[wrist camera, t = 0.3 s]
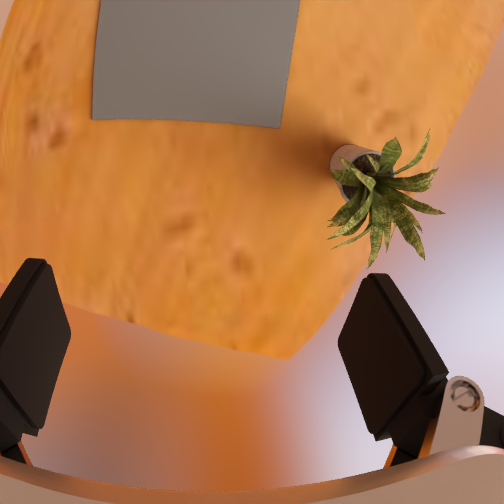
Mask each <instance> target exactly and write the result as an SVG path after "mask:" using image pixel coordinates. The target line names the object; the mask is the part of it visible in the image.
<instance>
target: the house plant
mask: <svg viewBox="0 0 504 504" xmlns="http://www.w3.org/2000/svg"><path fill="white" fill-rule="evenodd" d="M429 132H430V129H429V131H428V134H427V136H426V139H425V141H424V143H423V145H422V148H421V149H420V151H419V153H418V154H417V156H416V157H415V158H414V159H413V160H412V161H411V162H410V163H409V164H408V165H406V166H405V167H403V168H401V169H399V170H397V171H396V172H395V170H394V165H395V163H396V161H397V159H398V158H399V157H400V155H401V152H402V151H401V147H400V144H399V143H398V141H397V139H396V137H395V138H394V139H393V140H391V141H389V142H387V143H386V144H385V146H384V148H383V150H382V153H380V152H377V151H373V150H370V149H366V148H363V147H359V146H356V145H344V146H342V147H340V148H339V149H337V150H336V151H335V152H334V154H333V156H332V158H331V161H330V169H329V168H328V169H329V170H330V172H331V173H332V175H333V177H334V179H335V181H336V183H337V186H338V188H339V190H340V192H341V195H342V196H343V198H344V200H345V201H346V202H347V203H346V204H345V205H344V206H342V207H341V208H340V209H339V211H338V212H337V213H336V215H335V216H334V217H333V218H332V219H331V220H328V221H332V222H333V223H332V224H331V225H329V226H328V227H331V226H335V225H338V224H339V225H338V226H342V225H345V226H344V227H342V228H341V229H339V230H338V231H336V232H335V233H334V234H333V235H332V236H331V237H330V238H328V239H332V238H334V237H337V236H340V235H344V236H347V235H351V234H354V233H355V232H356V231H357V230H358V229H359V228H360V227H361V225H362V224H363V223H364V221H365V220H366V217H367V215H368V212H369V224H368V226H367V228H366V230H365V231H364V232H363V233H362V234H360V235H358V236H357V237H355V238H353V239H350V240H348V241H346V242H344V243H342V244H340V245H338V246H336V247H339V246H341V245H344V244H348V243H351V242H353V241H355V240H357V239H359V238H361V237H362V236H363V235H365V234H366V233H367V232H368V231H369V230H370V229H371V233H370V241H371V253H370V257H369V263H368V267H370V266H371V264H372V263H373V262H374V260H375V258H376V257H377V255H378V252H379V250H380V247H381V241H382V235H383V229H384V239H385V245H386V249H387V250H388V245H389V240H390V229H391V220H392V222H393V223H394V224H395V225H394V228H393V231H392V235H393V232H394V230H395V228H396V225H397V226H398V227H399V229H400V231H401V233H402V235H403V237H404V238H405V240H406V241H407V242H408V243H409V244H411V245H412V246H413V247H414V248H415V249H416V251H417V253H418V254H419V256H421V257H422V258H423V259H424V260H425V254H424V248H423V245H422V242H421V240H420V237H419V235H418V233H417V231H416V229H415V227H414V225H415V226H416V227H417V228H418V229H419V230H421V231H422V229H421V227H420V225H419V223H418V221H417V220H416V218H415V217H414V216H413V215H412V213H411V212H410V211H409V210H408V209H407V208H406V207H405V206H404V205H403V204H405V205H407V206H409V207H411V208H413V209H415V210H416V211H420V212H422V213H427V214H434V215H437V214H445V213H444V212H442V211H440V210H436V209H433V208H432V207H431V206H429V205H427V204H424V203H421V202H418V201H416V200H414V199H412V198H411V197H409V196H407V195H406V194H404V193H402V192H400V191H398V190H404V191H411V192H423V191H426V190H427V189H429V188H430V187H431V184H430V181H431V180H432V179H431V180H429V181H428V179H429V178H431V177H432V176H433V175H434V174H435V172H436V171H437V170H438V169H433V170H431V171H430V172H428V173H420V174H418V175H415V176H412V177H400V178H395V174H398V173H400V172H402V171H404V170H406V169H408V168H410V167H412V166H414V165H415V164H417V163H418V162H419V161H420V160H421V159H422V158H423V155H424V153H425V150H426V147H427V144H428V141H429ZM396 189H398V190H396ZM402 203H403V204H402ZM413 224H414V225H413ZM392 235H391V236H392ZM326 240H327V239H326ZM336 247H334V248H336ZM334 248H332V249H334ZM330 250H331V249H330Z"/></svg>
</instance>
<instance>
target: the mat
mask: <svg viewBox="0 0 504 504" xmlns="http://www.w3.org/2000/svg"><path fill="white" fill-rule="evenodd" d="M299 4H300V0H101V6H100V13H99V20H98V29H97V38H96V48H95V61H94V76H93V103H92V120H111V119H158V120H186V121H204V122H218V123H231V124H241V125H251V126H260V127H269V128H277V129H280V123H281V117H282V111H283V105H284V99H285V92H286V86H287V80H288V74H289V67H290V61H291V55H292V49H293V42H294V36H295V30H296V23H297V17H298V10H299Z"/></svg>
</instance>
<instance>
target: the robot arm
mask: <svg viewBox="0 0 504 504" xmlns="http://www.w3.org/2000/svg"><path fill="white" fill-rule="evenodd" d="M70 338H71V330H70V326H69V323H68V320H67V317H66V315H65V311H64V308H63V305H62V302H61V298H60V295H59V292H58V288H57V285H56V281H55V278H54V274H53V270H52V267H51V265H49V264H47V262H46V260H44V259H37V258H27V259H26V260H25V261H24V263H23V264H22V266H21V267H20V269H19V270H18V272H17V273H16V274H15V276H14V277H13V279H12V280H11V282H10V283H9V285H8V287H7V288H6V290H5V291H4V293H3V294H2V296H1V298H0V504H504V416H503V415H501V414H499V413H497V412H495V411H493V410H491V409H489V408H487V407H485V406H484V396H483V393H482V391H481V389H480V388H479V386H478V385H477V384H476V383H475V382H473V381H472V380H470V379H469V378H467V377H463V376H455V377H453V378H451V379H450V380H449V381H448V380H447V378H446V376H447V375H448V373H449V371H448V370H447V368H446V366H445V364H444V362H443V361H442V359H441V357H440V356H439V354H438V352H437V350H436V349H435V347H434V345H433V343H432V342H431V340H430V339H429V337H428V335H427V334H426V332H425V330H424V329H423V327H422V325H421V324H420V322H419V321H418V319H417V317H416V316H415V314H414V313H413V311H412V309H411V308H410V306H409V305H408V303H407V302H406V300H405V299H404V297H403V296H402V294H401V293H400V291H399V289H398V288H397V287H396V285H395V283H394V282H393V280H392V279H391V278H390V276H389V275H388V274H385V273H384V274H383V273H381V274H380V273H370V274H369V275H368V276H367V278H364V279H363V280H362V282H361V284H360V287H359V289H358V292H357V295H356V297H355V300H354V302H353V304H352V307H351V309H350V312H349V315H348V317H347V319H346V322H345V324H344V326H343V328H342V331H341V333H340V335H339V338H338V348H339V351H340V353H341V356H342V359H343V361H344V364H345V367H346V370H347V372H348V375H349V378H350V381H351V383H352V386H353V389H354V392H355V394H356V397H357V400H358V403H359V406H360V409H361V411H362V414H363V417H364V420H365V423H366V426H367V429H368V431H369V432H370V433H371V434H373V435H374V438H375V441H380V440H383V439H388V438H392V441H393V446H392V449H391V451H390V453H389V456H388V458H387V461H386V463H385V466H384V467H383V469H380V470H376V471H372V472H368V473H364V474H360V475H355V476H351V477H346V478H342V479H337V480H331V481H325V482H320V483H313V484H307V485H300V486H292V487H284V488H274V489H262V490H248V491H224V492H222V491H220V492H202V491H197V492H196V491H174V490H173V491H172V490H159V489H148V488H138V487H129V486H122V485H115V484H108V483H103V482H97V481H92V480H87V479H82V478H77V477H72V476H68V475H64V474H60V473H56V472H52V471H48V470H44V469H41V468H37V467H34V466H33V465H32V463H31V461H30V459H29V457H28V455H27V453H26V450H25V448H24V446H23V444H22V442H21V437H22V433H25V434H29V435H32V436H36V437H37V435H38V431H39V429H41V428H43V426H44V423H45V420H46V416H47V412H48V408H49V405H50V401H51V398H52V394H53V391H54V387H55V384H56V381H57V377H58V374H59V371H60V368H61V365H62V362H63V359H64V356H65V353H66V350H67V347H68V344H69V341H70Z"/></svg>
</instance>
